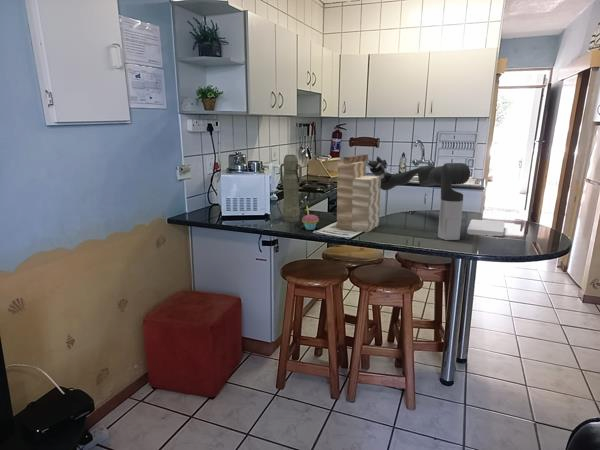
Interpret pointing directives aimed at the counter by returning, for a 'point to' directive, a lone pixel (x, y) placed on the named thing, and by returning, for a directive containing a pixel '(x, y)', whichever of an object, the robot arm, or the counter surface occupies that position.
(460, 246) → the counter surface
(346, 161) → the walnut bar
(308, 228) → the cupcake
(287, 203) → the thermos
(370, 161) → the robot arm
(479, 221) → the food packaging
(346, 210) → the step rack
